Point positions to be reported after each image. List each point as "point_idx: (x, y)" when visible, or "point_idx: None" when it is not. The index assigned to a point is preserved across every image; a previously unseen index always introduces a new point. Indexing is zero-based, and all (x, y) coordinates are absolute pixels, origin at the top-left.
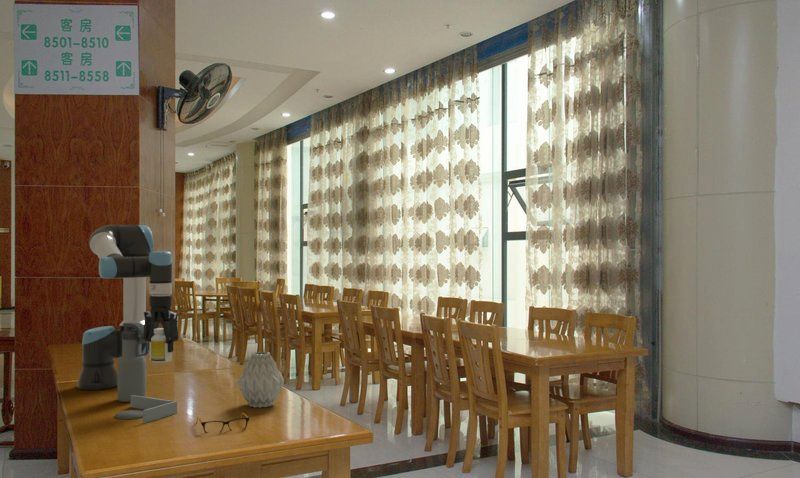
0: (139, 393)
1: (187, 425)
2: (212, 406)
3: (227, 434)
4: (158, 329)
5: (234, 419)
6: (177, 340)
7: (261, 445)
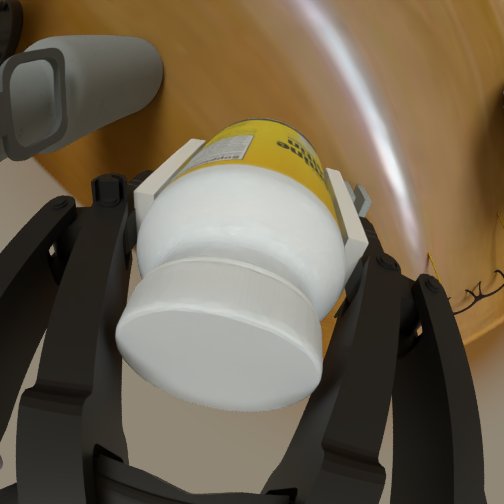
0: (152, 86)
1: (414, 271)
2: (429, 105)
3: (473, 298)
4: (238, 410)
5: (491, 294)
6: (433, 280)
7: (498, 320)
